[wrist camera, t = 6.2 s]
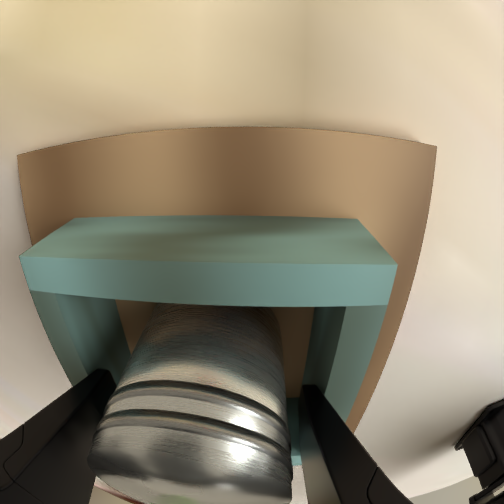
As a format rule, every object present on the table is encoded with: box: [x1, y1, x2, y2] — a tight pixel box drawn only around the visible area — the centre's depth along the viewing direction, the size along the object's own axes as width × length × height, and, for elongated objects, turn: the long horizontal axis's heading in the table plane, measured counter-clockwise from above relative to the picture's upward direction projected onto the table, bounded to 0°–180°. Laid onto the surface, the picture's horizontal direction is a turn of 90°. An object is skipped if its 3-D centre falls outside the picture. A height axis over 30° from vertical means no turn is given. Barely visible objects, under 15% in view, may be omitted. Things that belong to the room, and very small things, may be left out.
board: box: [17, 127, 437, 466], centre depth 10 cm, size 14×18×4 cm
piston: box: [87, 302, 293, 504], centre depth 8 cm, size 5×5×6 cm
